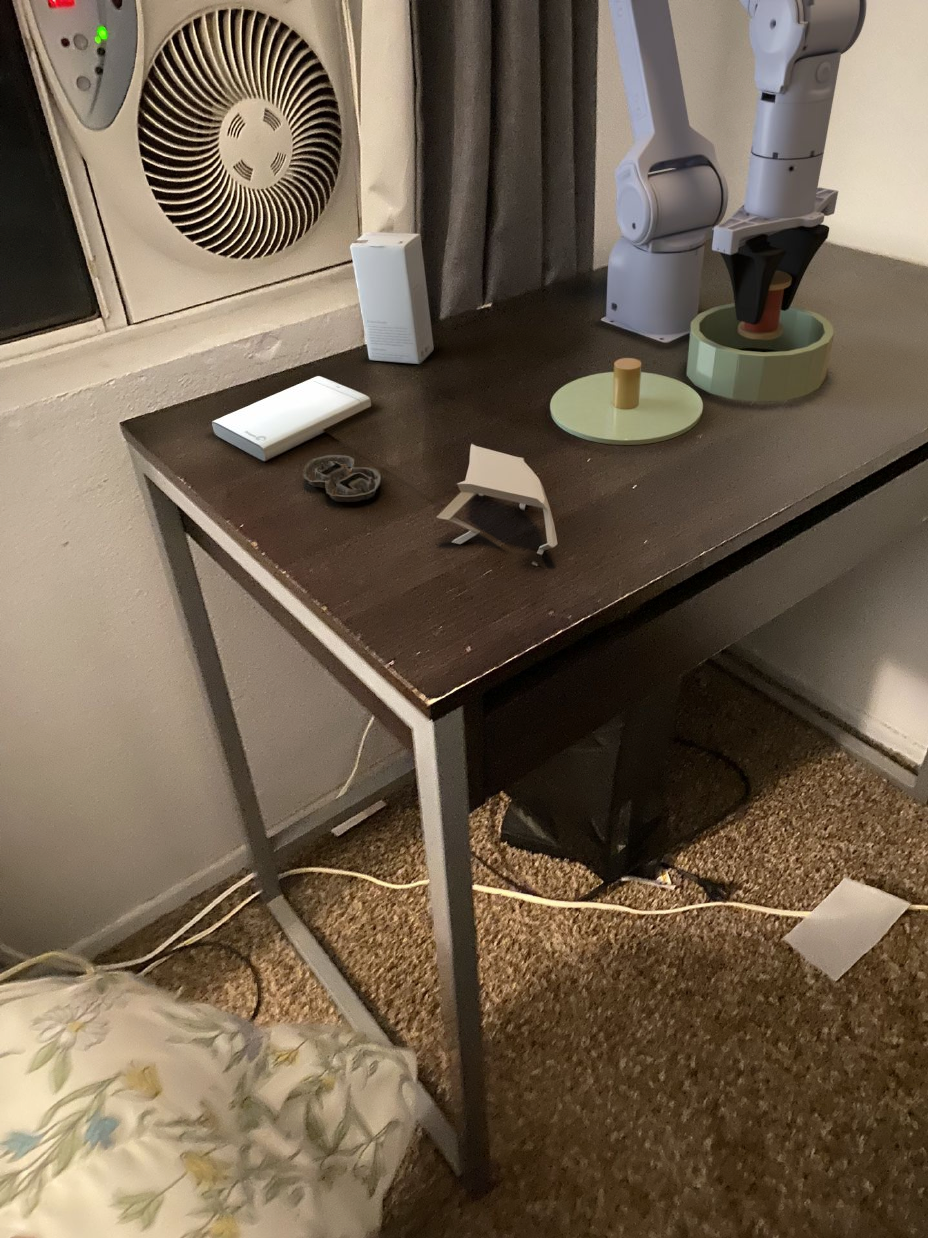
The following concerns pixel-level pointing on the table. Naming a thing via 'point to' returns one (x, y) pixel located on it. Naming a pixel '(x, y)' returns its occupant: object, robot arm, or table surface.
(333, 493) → the corroded twin loop
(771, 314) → the spool
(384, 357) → the cosmetic box
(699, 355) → the tin
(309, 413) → the hard drive
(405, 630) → the table surface
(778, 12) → the robot arm
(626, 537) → the table surface
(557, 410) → the lid
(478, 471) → the beige angled stand
